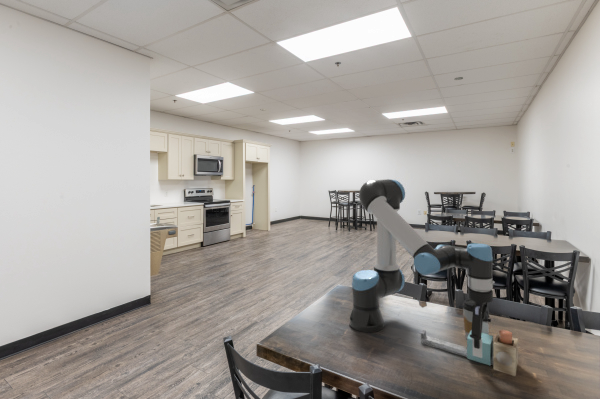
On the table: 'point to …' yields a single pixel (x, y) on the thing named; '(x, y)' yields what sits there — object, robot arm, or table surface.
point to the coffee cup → (468, 315)
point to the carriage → (486, 349)
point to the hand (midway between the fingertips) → (481, 347)
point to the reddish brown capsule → (505, 336)
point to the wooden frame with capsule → (505, 356)
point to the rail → (445, 345)
